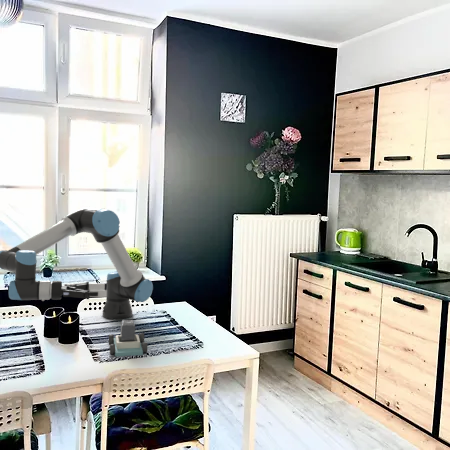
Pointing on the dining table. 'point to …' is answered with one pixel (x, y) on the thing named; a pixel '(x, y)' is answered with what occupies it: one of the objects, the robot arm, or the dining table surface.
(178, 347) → the dining table surface
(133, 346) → the chassis
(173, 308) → the dining table surface
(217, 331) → the dining table surface
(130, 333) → the grey upright block
